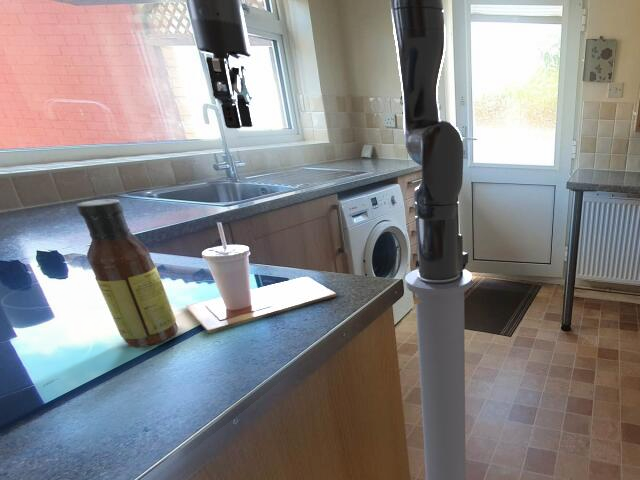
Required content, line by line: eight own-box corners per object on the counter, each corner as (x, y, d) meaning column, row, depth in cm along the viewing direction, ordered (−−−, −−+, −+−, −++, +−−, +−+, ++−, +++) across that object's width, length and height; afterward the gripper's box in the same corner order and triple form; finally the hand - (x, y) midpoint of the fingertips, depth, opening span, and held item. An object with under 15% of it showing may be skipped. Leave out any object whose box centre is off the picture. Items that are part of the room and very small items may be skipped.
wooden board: (307, 278, 82) (306, 275, 82) (337, 296, 75) (336, 292, 75) (186, 309, 68) (185, 305, 68) (208, 333, 61) (207, 329, 61)
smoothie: (259, 294, 73) (242, 217, 67) (262, 308, 68) (244, 225, 62) (215, 302, 69) (194, 221, 64) (216, 316, 64) (193, 230, 59)
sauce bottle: (179, 324, 63) (139, 195, 56) (179, 341, 59) (135, 203, 51) (123, 335, 60) (71, 199, 52) (118, 354, 55) (61, 208, 47)
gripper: (233, 15, 62) (255, 129, 68) (254, 31, 74) (271, 127, 81) (174, 9, 60) (202, 128, 66) (206, 27, 72) (227, 125, 78)
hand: (240, 127), depth 73 cm, fingers open, 8 cm apart
